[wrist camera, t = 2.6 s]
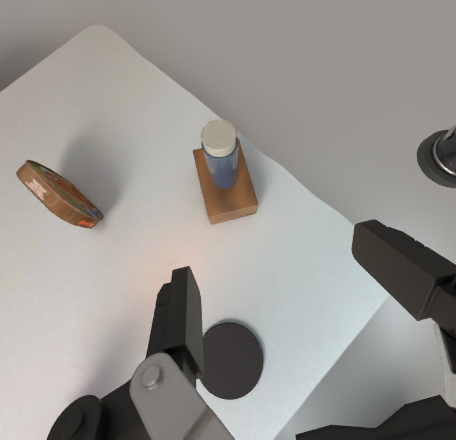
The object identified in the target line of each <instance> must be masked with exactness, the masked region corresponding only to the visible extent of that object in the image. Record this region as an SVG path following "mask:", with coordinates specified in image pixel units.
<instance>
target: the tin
mask: <svg viewBox="0 0 456 440" xmlns="http://www.w3.org/2000/svg"><path fill="white" fill-rule="evenodd" d="M16 174H17V177H18V178H19V180H20V181H21V182H22V183H23V184H24V185H25V186H26V187H27V188H28V189H29V190H30V191H31V192H32V193H33V194H34V195H35V196H36V197H37V198H38V199H39V200H40V201H41V202H42V203H43V204H44V205H45V206H46V207H47V208H48V209H49V210H50V211H51V212H52V213H54V214H55V215H56V216H58V217H59V218H61V219H62V220H64V221H66V222H68V223H70V224H72V225H75V226H80V227H84V228H90V229H91V228H93V227H94V226H95V225H96V224H97V223H98V222H99V221H100V220H101V219H103V215H102V213H101V212H100V211H99V210H98V209H97V208H96V207H95V206H94V205H93V204H92V203H91V202H90V201H89V200H88V199H87V198H86V197H85V196H84V195H83V194H82V193H81V192H80V191H79V190H77V189H76V188H75V187H74V186H73V185H72V184H71V183H70V182H68V181H67V180H66V179H65V178H63V177H62V176H60V175H59V174H57V173H56V172H54V171H52V170H51V169H49V168H47V167H45V166H43V165H41V164H39V163H37V162H34V161H31V160H27V161H26V163H25V164H24V165H23V166H22V167H21V168H20V169H19V170H18V171H17V173H16Z"/></svg>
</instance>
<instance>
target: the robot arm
mask: <svg viewBox="0 0 456 440" xmlns="http://www.w3.org/2000/svg"><path fill="white" fill-rule="evenodd" d="M431 157H432V160H433V162H434V163H435V165H436V166H437V167H438V168H439V169H440V170H441V171H442V172H444V173H445V174H447V175H449V176H452V177H456V125H454V126H453V127H452V128H450V130H449V132H448V133H446V134H444V135H442V136H441V137H439V138H438V139H436V140H435V141H434V143H433V144H432V147H431ZM352 254H353V256H354V258H355V260H356V261H357V262H358V263H359V264H360V265H361V266H362V267H363V268H364V269H365V270H366V271H367V272H368V273H369V274H370V275H371V276H372V277H373V278H374V279H375V280H376V281H377V282H378V283H379V284H380V285H381V286H382V287H383V288H384V289H385V290H386V291H387V292H388V293H389V294H390V295H392V296H393V297H394V298H395V299H396V300H397V301H398V302H399V303H400V304H401V305H402V306H403V307H404V308H405V309H406V310H407V311H408V312H409V313H410V314H411V315H412V316H413V317H414V318H415V319H416V320H417V321H420V320H423V319H427V318H432V319H433V320H434V321H435V324H434V332H435V336H436V340H437V344H438V348H439V353H440V357H441V361H442V365H443V370H444V374H445V389H444V399H443V398H442V397H441V395H437V396H434V397H430V398H427V399H423V400H420V401H416V402H412V403H409V404H405V405H404V406H403V407H401V408H400V409H399V410H398V411H396V412H395V413H394V414H393V415H392V416H390V417H389V418H388V419H387V420H386V421H384V422H383V423H382V424H381V425H380V426H378V427H376V428H363V427H352V426H339V425H329V426H325V427H322V428H319V429H315V430H311V431H307V432H304V433H300V434H297V435H296V440H456V265H455V264H453V263H452V262H450V261H449V260H447V259H446V258H444V257H442V256H441V255H439V254H437V253H436V252H434V251H433V250H431V249H430V248H428V247H425V246H424V245H423V244H421V243H420V242H418V241H415V240H414V238H412V237H410V236H409V235H407V234H406V233H404V232H402V231H399V230H396V229H394V228H391V227H386V226H385V225H383V224H382V223H380V222H379V221H377V220H369V221H365V222H361V223H358V224H356V225H355V227H354V234H353V242H352ZM202 377H204V361H203V335H202V310H201V296H200V291H199V288H198V285H197V283H196V280H195V278H194V275H193V273H192V270H191V268H190V266H187V267H183V268H179V269H175V270H173V271H172V278H171V282H170V283H166V284H164V285H163V286H162V288H161V290H160V291H159V293H158V295H157V300H156V307H155V311H154V317H153V322H152V328H151V333H150V338H149V344H148V349H147V354H146V358H145V360H144V361H143V362H142V363H141V364H140V365H139V366H138V367H137V369H136V370H135V372H134V374H133V376H132V378H131V379H130V380H129V381H128V382H126V383H125V384H123V385H122V386H120V387H119V388H117V389H116V390H114V391H112V392H111V393H109V394H108V395H106V396H104V397H103V398H101V399H99V398H97V397H96V396H94V395H86V396H83V397H80V398H78V399H77V400H75V401H74V402H73V403H71V404H70V405H69V406H68V407H67V408H66V409H65V410H64V411H63V412H62V413H61V415H60V416H59V417H58V418H57V420H56V421H55V423H54V425H53V426H52V428H51V430H50V433H49V435H48V437H47V440H235V439H234V437H233V436H232V435H231V433H230V432H229V431H228V430H227V428H226V427H225V426H224V424H223V423H222V422H221V420H220V419H219V418H218V417H217V415H216V414H215V413H214V412H213V410H212V409H211V408H210V407H209V406H208V405H207V404H206V402H205V401H204V400H203V398H202V397H201V396H200V394H199V393H198V392H197V391H196V379H199V378H202Z"/></svg>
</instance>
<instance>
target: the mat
mask: <svg viewBox="0 0 456 440" xmlns="http://www.w3.org/2000/svg"><path fill="white" fill-rule="evenodd" d="M203 361H204V377H202V378H199V379H200V380H201V382H202V384H203V385H204V387H205V388H206V389H207V390H208V391H209V392H210V393H212V394H213V395H215V396H217V397H219V398H222V399H228V400H231V399H238V398H241V397H243V396H245V395H246V394H248V393H249V392H250V391H251V390H252V389H253V388H254V387H255V386H256V384H257V382H258V381H259V378H260V376H261V372H262V367H263V357H262V351H261V348H260V345H259V343H258V341H257V339H256V338H255V336H254V335H253V334H252V333H251V332H250V331H249V330H248V329H247V328H245V327H243V326H242V325H239V324H236V323H222V324H219V325H216V326H214V327H213V328H211V329H210V330H209V331H208V332H207V333H206V334H205V335H204V336H203Z"/></svg>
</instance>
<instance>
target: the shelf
mask: <svg viewBox="0 0 456 440" xmlns="http://www.w3.org/2000/svg"><path fill="white" fill-rule="evenodd" d="M193 154H194V159H195V163H196V167H197V172H198V176H199V180H200V185H201V189H202V193H203V198H204V202H205V206H206V211H207V215H208V218H209V220H210V222H211V224H215V223H219V222H223V221H227V220H231V219H235V218H239V217H243V216H247V215H251V214H255V213H256V210H257V206H258V202H257V199H256V196H255V192H254V189H253V186H252V182H251V179H250V176H249V172H248V169H247V166H246V162H245V159H244V156H243V152H242V149H241V146H240V142H239V140H238V178H237V181H236V183H235V184H234V185H233V186H232V187H230V188H227V189H221V188H218V187H216V186H215V185H214V184H213V183H212V181H211V179H210V175H209V171H208V168H207V164H206V160H205V156H204V153H203V149H202V148H201V149H197V150H193Z"/></svg>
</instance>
